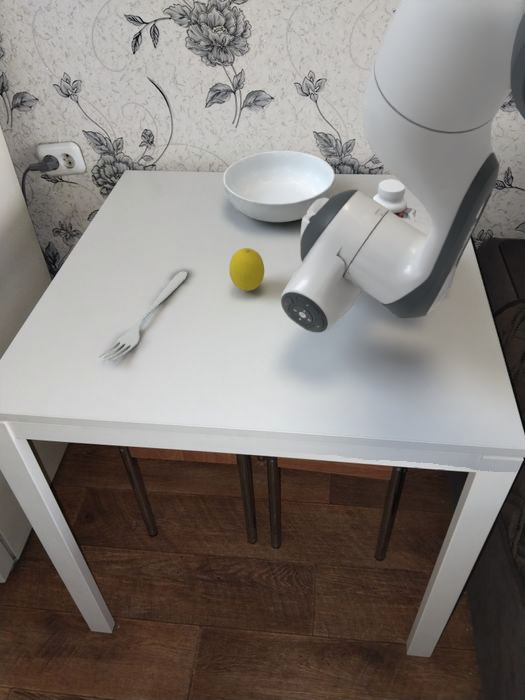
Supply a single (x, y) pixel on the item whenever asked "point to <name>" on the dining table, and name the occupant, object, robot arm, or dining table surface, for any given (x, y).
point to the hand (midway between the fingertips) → (390, 207)
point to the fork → (133, 335)
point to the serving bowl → (278, 184)
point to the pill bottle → (392, 196)
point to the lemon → (246, 269)
